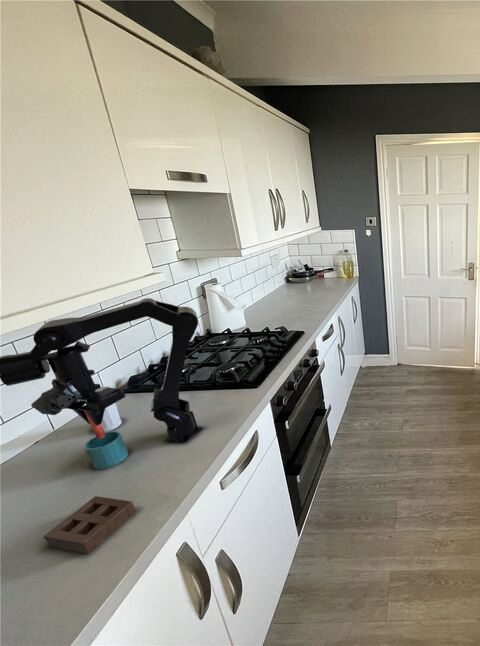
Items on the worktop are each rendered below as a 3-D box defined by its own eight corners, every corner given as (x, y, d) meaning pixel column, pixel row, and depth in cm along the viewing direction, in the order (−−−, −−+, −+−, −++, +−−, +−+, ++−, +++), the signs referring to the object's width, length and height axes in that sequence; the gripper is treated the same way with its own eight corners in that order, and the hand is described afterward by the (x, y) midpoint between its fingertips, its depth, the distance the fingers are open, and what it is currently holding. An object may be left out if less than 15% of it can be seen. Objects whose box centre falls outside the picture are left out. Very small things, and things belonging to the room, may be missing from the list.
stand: (100, 505, 80) (95, 495, 79) (136, 511, 79) (131, 501, 78) (49, 546, 71) (43, 536, 70) (88, 554, 69) (82, 543, 68)
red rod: (102, 435, 93) (88, 403, 89) (108, 436, 93) (94, 404, 89) (95, 440, 91) (80, 408, 88) (101, 440, 91) (86, 408, 87)
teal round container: (114, 448, 98) (105, 430, 96) (135, 451, 97) (127, 432, 95) (86, 467, 92) (76, 447, 89) (108, 470, 91) (99, 450, 88)
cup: (121, 415, 114) (108, 383, 109) (127, 424, 109) (114, 391, 104) (89, 427, 108) (73, 394, 103) (94, 438, 103) (78, 404, 99)
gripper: (-2, 386, 79) (29, 441, 84) (64, 391, 76) (91, 448, 81) (55, 363, 89) (79, 414, 95) (115, 367, 86) (136, 419, 91)
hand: (95, 424), depth 90 cm, fingers closed on red rod, 2 cm apart
